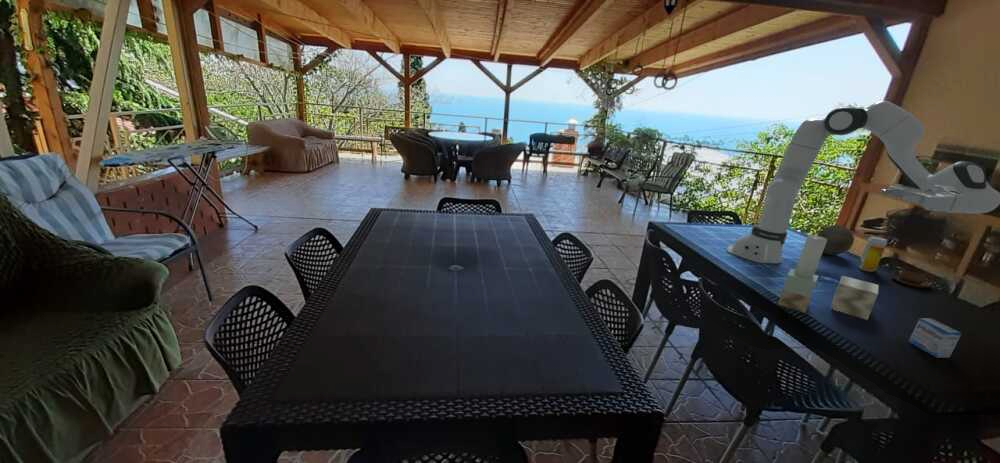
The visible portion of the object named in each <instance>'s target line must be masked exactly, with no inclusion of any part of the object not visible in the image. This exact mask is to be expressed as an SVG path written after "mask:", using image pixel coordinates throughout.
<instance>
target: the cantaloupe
mask: <svg viewBox="0 0 1000 463" xmlns="http://www.w3.org/2000/svg"><path fill="white" fill-rule="evenodd" d="M816 236H820V237H823V238H826V239H827V242H826V245H825V247H824V250H823V253H822V254H824V255H829V256H838V255H841V254H843V253H846V252H847V251H849V250H850V249H851V248H852V246H853V245H854V242H855V238H854V234H853V231H852V230H851V229H849V228H848V227H846V226H843V225H839V224H837V225H835V224H831V225H828V226H825V227H824V228H823V229H821V230H820V231H819V232H818V233H817V235H816Z"/></svg>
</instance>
